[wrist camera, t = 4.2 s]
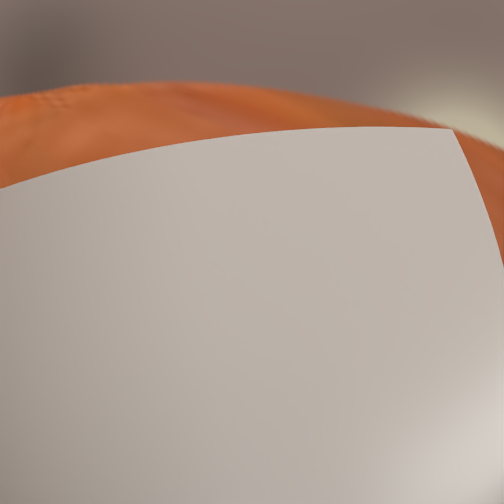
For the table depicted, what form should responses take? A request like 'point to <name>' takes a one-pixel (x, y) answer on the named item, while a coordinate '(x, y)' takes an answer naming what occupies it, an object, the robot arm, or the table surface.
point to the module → (254, 325)
